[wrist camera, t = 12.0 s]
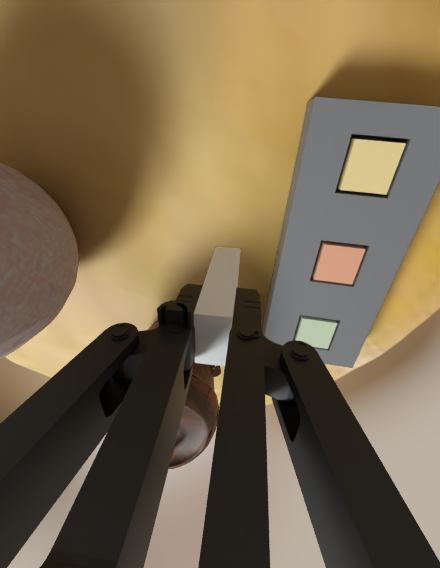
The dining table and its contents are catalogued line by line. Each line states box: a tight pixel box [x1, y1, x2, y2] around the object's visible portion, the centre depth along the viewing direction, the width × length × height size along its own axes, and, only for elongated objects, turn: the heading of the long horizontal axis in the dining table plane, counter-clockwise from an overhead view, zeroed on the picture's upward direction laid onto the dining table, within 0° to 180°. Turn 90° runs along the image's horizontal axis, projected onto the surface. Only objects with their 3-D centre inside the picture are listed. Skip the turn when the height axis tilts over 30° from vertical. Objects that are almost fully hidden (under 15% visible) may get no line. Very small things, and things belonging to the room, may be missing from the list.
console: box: [262, 97, 440, 368], centre depth 34 cm, size 33×14×4 cm, turn 176°
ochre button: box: [336, 139, 406, 195], centre depth 28 cm, size 5×5×4 cm
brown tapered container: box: [148, 321, 221, 469], centre depth 41 cm, size 18×20×18 cm
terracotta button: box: [312, 240, 366, 284], centre depth 34 cm, size 5×5×4 cm
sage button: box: [294, 315, 337, 349], centre depth 39 cm, size 5×5×4 cm
